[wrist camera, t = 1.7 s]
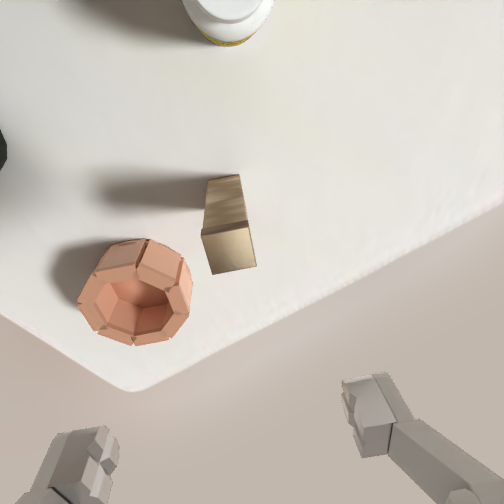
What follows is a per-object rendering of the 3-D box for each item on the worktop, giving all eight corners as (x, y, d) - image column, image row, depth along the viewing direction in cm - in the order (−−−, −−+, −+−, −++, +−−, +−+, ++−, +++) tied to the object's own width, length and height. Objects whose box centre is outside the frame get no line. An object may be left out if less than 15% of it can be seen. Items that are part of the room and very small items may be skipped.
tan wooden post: (239, 173, 28) (248, 226, 19) (245, 204, 30) (256, 266, 21) (207, 180, 28) (200, 236, 19) (214, 210, 30) (212, 274, 21)
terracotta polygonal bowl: (175, 231, 31) (168, 257, 27) (201, 304, 36) (198, 334, 32) (80, 249, 31) (58, 278, 27) (119, 319, 36) (106, 352, 32)
